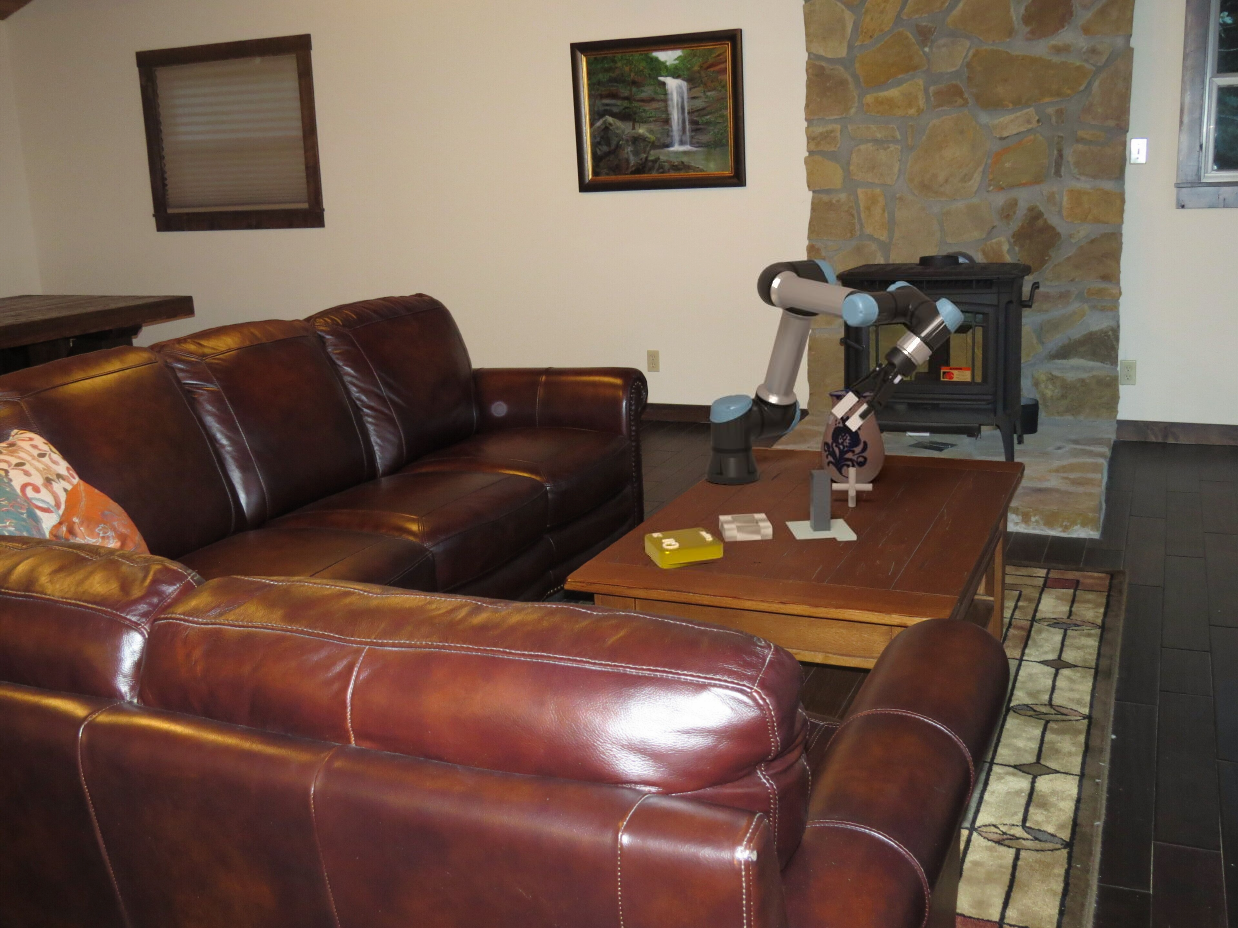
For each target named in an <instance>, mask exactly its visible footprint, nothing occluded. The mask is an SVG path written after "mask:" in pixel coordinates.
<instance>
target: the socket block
mask: <svg viewBox="0 0 1238 928" xmlns="http://www.w3.org/2000/svg"><path fill="white" fill-rule="evenodd" d="M718 528H719V531H720V533H721V535H722V536H723V539H724V542H736V541H737V542H740V541H755V540H756V541H757V540H772V539H773V526H772V524H771V522H770V521H769V519H768V518H767V516H766V514H765V512H762V513H761V512H759V513H744V514H743V513H741V514H740V513H739V514H725V515H721V514H720V515H718Z"/></svg>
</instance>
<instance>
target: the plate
mask: <svg viewBox="0 0 1238 928" xmlns="http://www.w3.org/2000/svg"><path fill="white" fill-rule="evenodd" d="M785 524H786V525H787V527H788V529H789V530H790V531H791V533H792V534H793V536H794V537H795V539H796V540H808V539H809V540H811V539H826V538H828V539H829V538H835V539H836V540H837V542H842V541H843V542H844V541H846V542H847V541H857V538H858V537H857V534H856V533H855V532H854V530H852V529H851V527H850V526H849V525H848V524H847V522H846V521H844V519H843V518H836V519H831V522H830V531H817V532H814V531H813V530H812V529H811V527H810V520H799V521H798V520H797V521H785Z"/></svg>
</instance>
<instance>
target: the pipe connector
mask: <svg viewBox="0 0 1238 928" xmlns="http://www.w3.org/2000/svg"><path fill="white" fill-rule="evenodd" d="M831 484H832V487H831V491H848V495H847V496H848V497H847V499H848V507H850V508H855V507H856V501H857V500H856V499H857V495H856V493H857V491H866V492H868V491H869V492H871V491H873V483H864V484H856V468H849V484H848V483H839V482H837V483H834V482H833V483H831Z"/></svg>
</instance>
